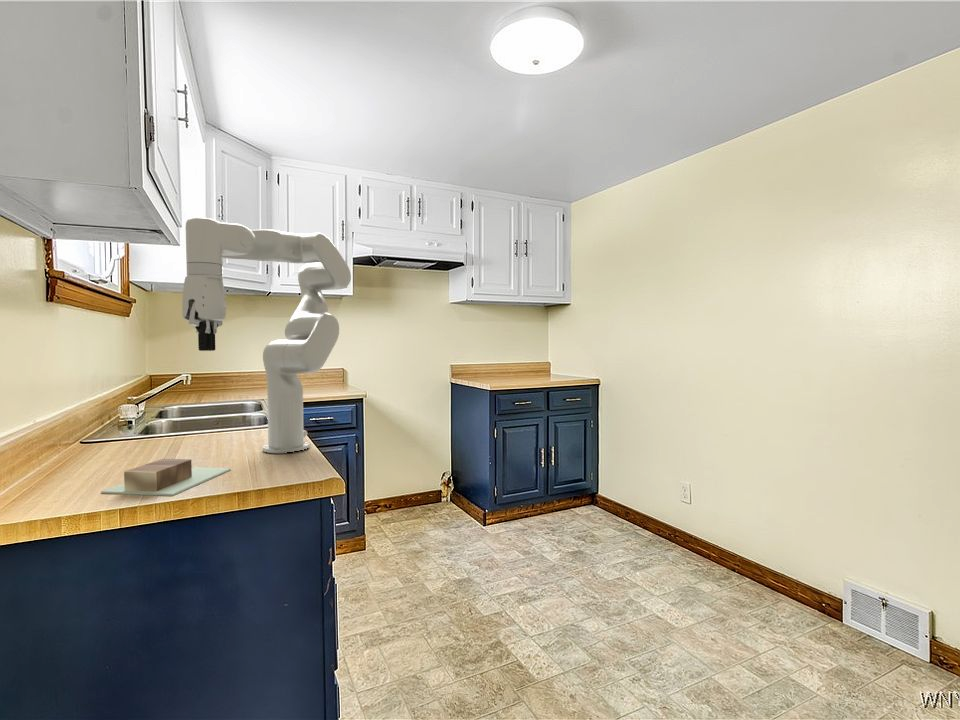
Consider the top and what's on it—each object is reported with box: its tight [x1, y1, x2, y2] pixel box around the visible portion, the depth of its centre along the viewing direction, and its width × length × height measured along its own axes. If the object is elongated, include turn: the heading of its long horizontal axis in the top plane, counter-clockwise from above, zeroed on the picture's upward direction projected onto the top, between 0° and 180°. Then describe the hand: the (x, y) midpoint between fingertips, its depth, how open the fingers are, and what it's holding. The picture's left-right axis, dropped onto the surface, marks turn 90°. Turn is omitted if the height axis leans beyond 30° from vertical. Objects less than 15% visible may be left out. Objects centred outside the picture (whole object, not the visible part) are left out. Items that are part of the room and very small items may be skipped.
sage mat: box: [100, 466, 232, 497], centre depth 115 cm, size 20×16×1 cm
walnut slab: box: [123, 458, 193, 492], centre depth 111 cm, size 4×7×11 cm
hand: (207, 350), depth 121 cm, fingers closed
